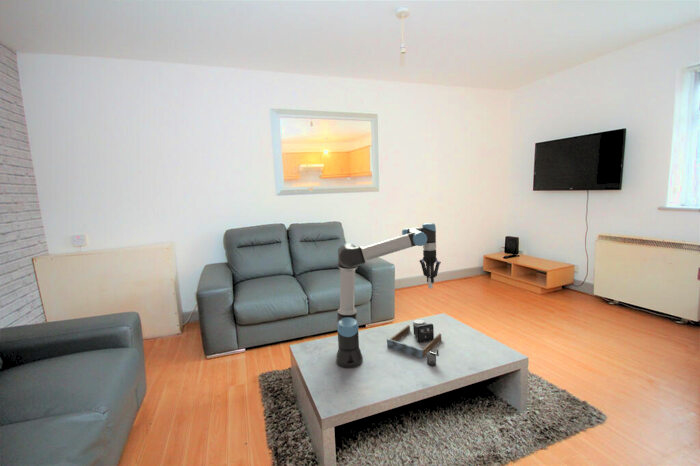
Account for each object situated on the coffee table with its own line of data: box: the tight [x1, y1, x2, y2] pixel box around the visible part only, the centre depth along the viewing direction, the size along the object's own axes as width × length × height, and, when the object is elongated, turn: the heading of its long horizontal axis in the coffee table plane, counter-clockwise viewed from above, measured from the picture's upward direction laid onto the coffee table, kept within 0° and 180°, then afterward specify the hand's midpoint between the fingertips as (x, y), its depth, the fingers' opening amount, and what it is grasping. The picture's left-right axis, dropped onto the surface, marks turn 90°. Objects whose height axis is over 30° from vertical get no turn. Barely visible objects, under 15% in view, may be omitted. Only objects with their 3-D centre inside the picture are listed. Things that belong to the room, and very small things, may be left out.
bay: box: [386, 324, 442, 359], centre depth 194 cm, size 23×26×5 cm
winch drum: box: [426, 349, 440, 367], centre depth 170 cm, size 6×5×9 cm
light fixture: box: [412, 319, 435, 344], centre depth 200 cm, size 11×13×11 cm
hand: (430, 287), depth 189 cm, fingers closed
